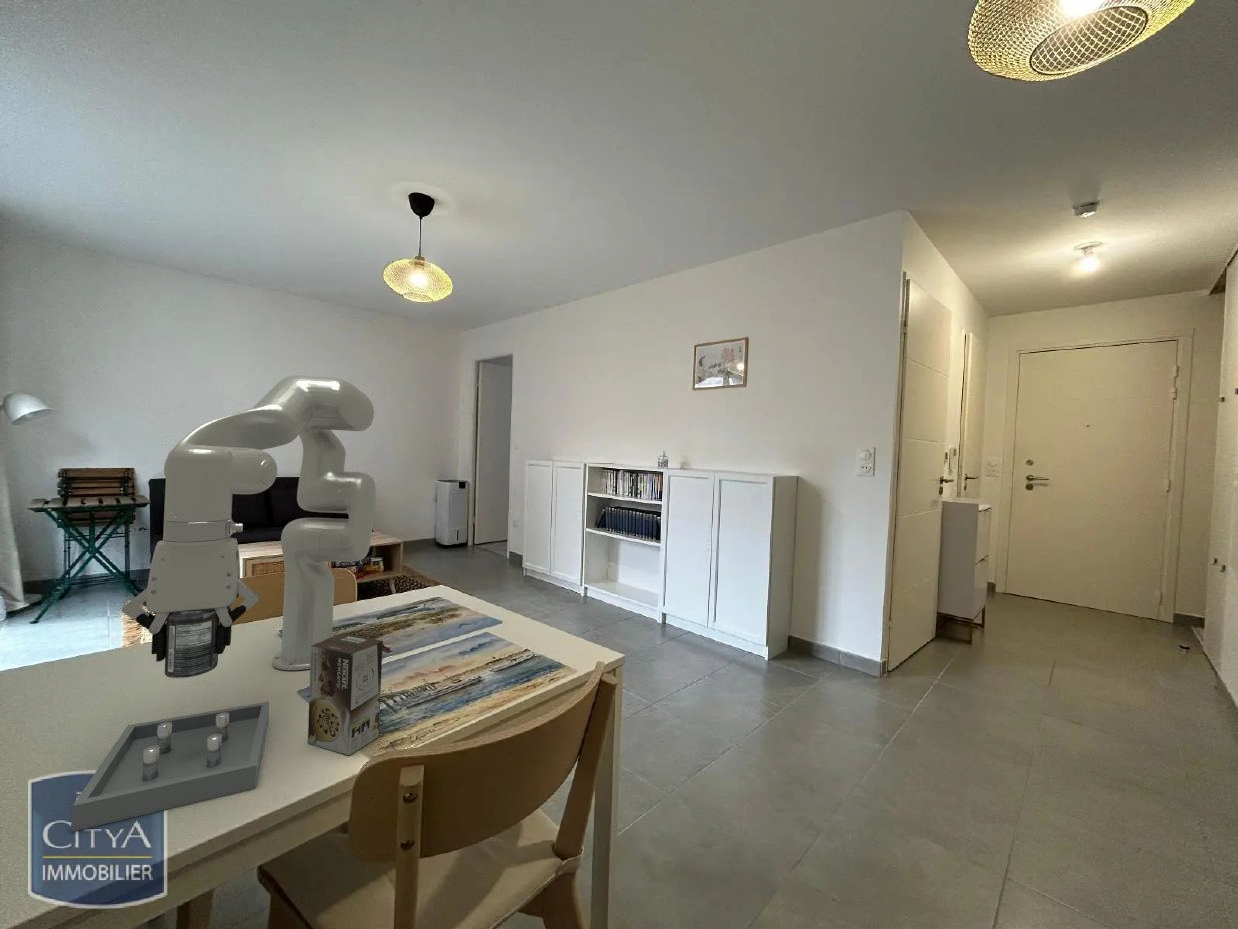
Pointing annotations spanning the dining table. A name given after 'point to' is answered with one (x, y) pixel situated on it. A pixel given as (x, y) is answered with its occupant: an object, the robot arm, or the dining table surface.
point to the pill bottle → (191, 643)
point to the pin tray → (175, 764)
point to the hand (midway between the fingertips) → (192, 653)
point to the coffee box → (344, 692)
